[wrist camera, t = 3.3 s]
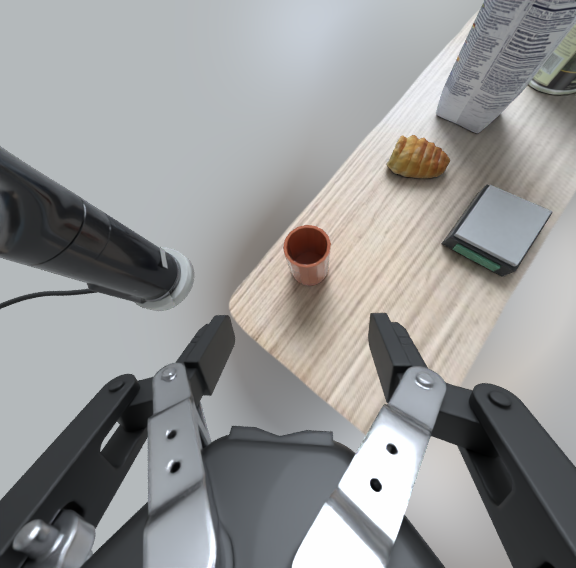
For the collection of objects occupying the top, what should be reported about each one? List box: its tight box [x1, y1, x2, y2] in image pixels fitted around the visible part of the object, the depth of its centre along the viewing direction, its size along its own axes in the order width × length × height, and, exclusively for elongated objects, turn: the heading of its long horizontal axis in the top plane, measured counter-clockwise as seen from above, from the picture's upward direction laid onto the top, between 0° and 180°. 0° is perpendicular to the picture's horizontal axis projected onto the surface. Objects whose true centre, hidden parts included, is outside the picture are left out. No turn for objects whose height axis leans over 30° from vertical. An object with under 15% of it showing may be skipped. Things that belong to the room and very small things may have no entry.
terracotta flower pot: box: [283, 225, 331, 286], centre depth 32 cm, size 6×6×8 cm
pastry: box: [386, 135, 450, 178], centre depth 37 cm, size 9×7×4 cm
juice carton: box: [436, 0, 576, 133], centre depth 27 cm, size 9×10×27 cm
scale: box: [442, 185, 552, 277], centre depth 32 cm, size 11×9×3 cm
